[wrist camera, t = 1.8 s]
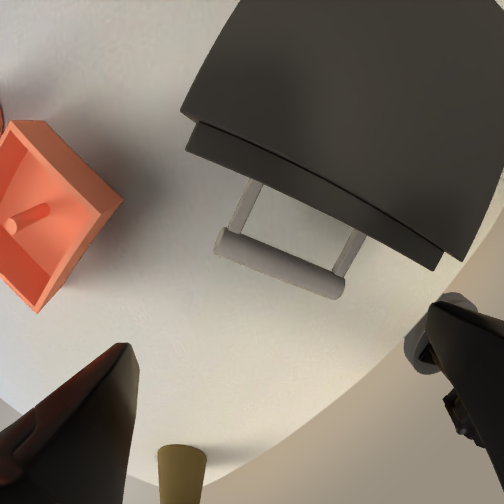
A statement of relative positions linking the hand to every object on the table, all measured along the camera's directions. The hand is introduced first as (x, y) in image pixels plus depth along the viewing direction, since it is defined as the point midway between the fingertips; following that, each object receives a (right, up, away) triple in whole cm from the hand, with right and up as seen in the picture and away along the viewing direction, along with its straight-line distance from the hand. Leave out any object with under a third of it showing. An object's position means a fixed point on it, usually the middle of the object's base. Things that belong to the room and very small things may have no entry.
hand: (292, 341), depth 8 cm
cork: (-10, -22, +22) cm, 33 cm away
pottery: (-19, +9, +9) cm, 23 cm away
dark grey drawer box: (+5, +14, +9) cm, 18 cm away
